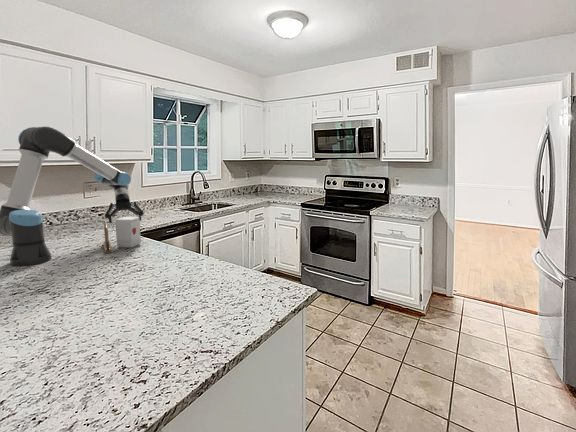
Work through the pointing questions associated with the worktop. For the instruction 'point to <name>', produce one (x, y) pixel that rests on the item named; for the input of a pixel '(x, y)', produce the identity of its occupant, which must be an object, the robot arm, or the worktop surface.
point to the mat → (129, 247)
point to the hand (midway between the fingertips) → (126, 226)
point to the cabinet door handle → (106, 240)
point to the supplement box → (128, 231)
